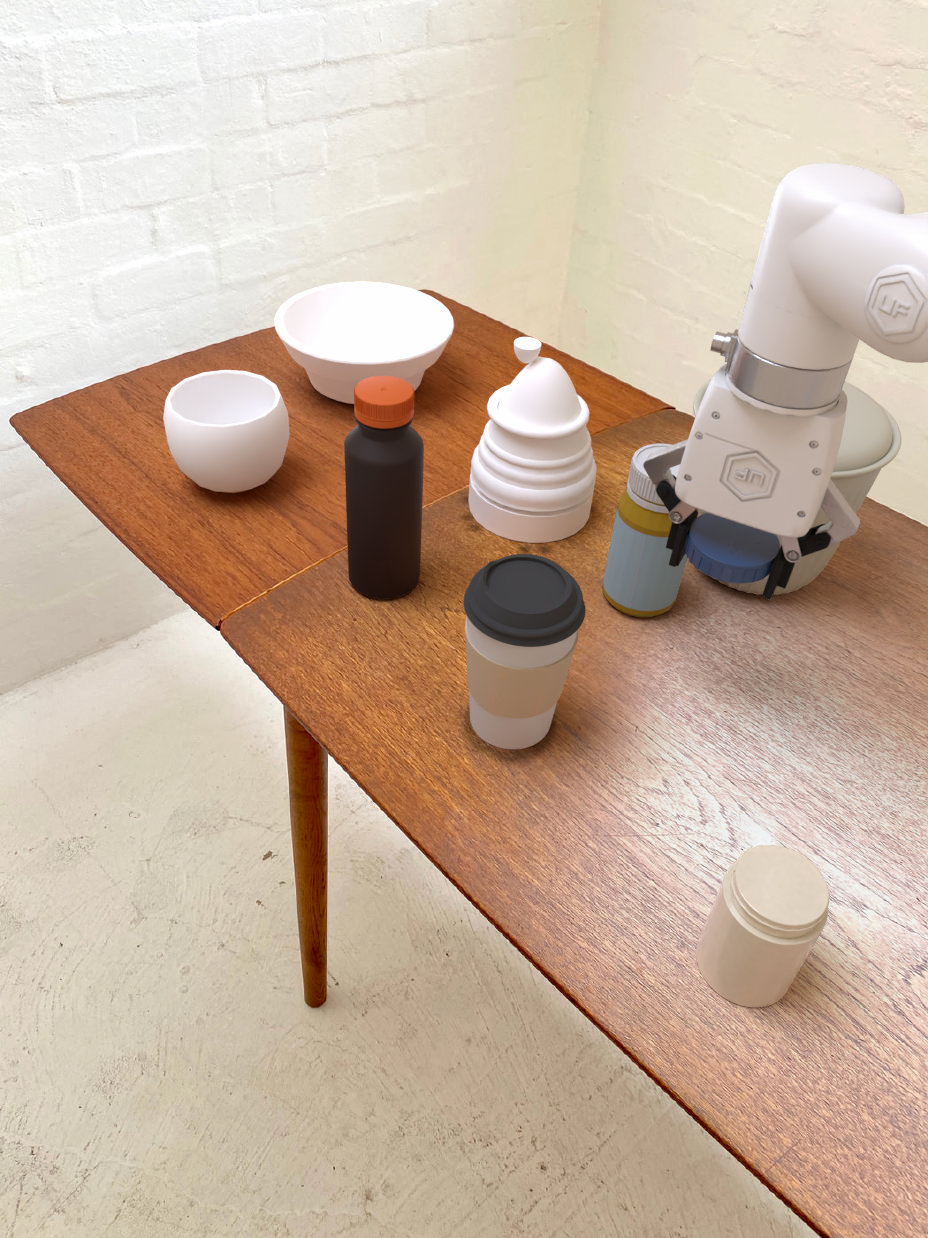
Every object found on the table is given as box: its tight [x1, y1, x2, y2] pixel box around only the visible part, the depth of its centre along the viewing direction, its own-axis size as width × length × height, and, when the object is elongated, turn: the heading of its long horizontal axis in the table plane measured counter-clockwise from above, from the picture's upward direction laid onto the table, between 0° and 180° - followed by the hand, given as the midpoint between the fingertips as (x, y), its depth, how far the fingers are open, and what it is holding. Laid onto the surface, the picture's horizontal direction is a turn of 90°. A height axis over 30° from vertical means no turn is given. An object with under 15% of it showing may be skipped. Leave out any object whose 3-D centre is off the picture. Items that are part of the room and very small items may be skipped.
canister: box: [692, 378, 903, 596], centre depth 91 cm, size 18×18×21 cm
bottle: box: [601, 443, 698, 618], centre depth 88 cm, size 7×7×15 cm
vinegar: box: [343, 376, 425, 600], centre depth 86 cm, size 7×7×20 cm
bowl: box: [273, 281, 455, 405], centre depth 118 cm, size 21×21×8 cm
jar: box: [695, 844, 830, 1008], centre depth 63 cm, size 6×6×10 cm
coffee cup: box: [462, 553, 587, 750], centre depth 76 cm, size 9×9×15 cm
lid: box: [684, 513, 780, 584], centre depth 75 cm, size 7×7×2 cm
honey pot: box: [467, 336, 598, 544], centre depth 97 cm, size 13×13×18 cm
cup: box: [162, 369, 291, 494], centre depth 101 cm, size 12×12×10 cm
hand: (724, 571), depth 77 cm, fingers closed on lid, 6 cm apart
